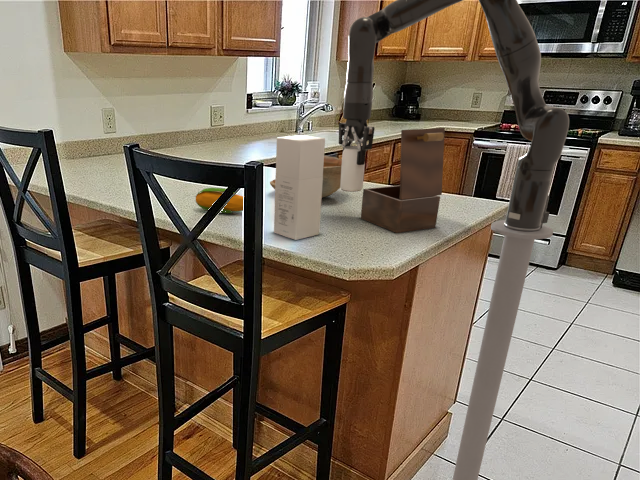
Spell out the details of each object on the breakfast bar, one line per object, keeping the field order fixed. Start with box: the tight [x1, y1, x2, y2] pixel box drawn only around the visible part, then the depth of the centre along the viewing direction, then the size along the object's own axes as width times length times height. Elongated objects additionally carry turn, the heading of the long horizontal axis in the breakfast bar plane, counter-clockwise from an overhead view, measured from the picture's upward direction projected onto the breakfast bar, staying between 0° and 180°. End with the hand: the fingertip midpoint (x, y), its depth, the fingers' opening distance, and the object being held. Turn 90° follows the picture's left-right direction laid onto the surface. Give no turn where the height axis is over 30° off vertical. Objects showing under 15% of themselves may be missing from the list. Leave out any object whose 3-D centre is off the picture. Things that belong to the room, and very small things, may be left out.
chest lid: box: [399, 127, 446, 199], centre depth 136 cm, size 18×14×5 cm
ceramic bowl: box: [269, 155, 342, 199], centre depth 181 cm, size 30×27×15 cm
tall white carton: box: [273, 134, 326, 241], centre depth 137 cm, size 9×9×25 cm
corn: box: [194, 187, 244, 214], centre depth 161 cm, size 7×8×20 cm
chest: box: [360, 184, 441, 234], centre depth 150 cm, size 17×14×9 cm
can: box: [339, 145, 366, 193], centre depth 150 cm, size 6×6×12 cm
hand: (353, 162), depth 150 cm, fingers closed on can, 6 cm apart
